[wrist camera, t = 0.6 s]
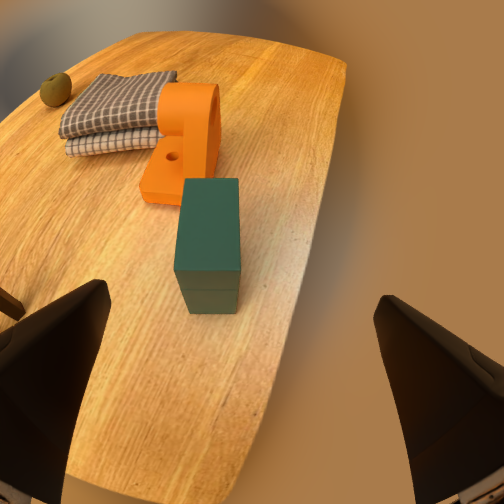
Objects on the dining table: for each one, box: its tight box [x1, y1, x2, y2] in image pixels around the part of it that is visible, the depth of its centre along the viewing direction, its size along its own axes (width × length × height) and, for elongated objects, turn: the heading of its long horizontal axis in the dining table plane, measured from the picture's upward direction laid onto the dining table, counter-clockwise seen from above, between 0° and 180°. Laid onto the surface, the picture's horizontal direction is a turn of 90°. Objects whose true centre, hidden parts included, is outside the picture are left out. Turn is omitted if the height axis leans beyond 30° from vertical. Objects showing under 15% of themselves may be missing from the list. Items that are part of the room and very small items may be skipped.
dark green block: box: [174, 178, 241, 314], centre depth 21 cm, size 8×4×8 cm, turn 3°
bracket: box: [139, 83, 221, 206], centre depth 26 cm, size 11×7×12 cm, turn 176°
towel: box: [58, 71, 178, 158], centre depth 32 cm, size 15×18×8 cm
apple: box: [40, 73, 72, 107], centre depth 38 cm, size 8×8×7 cm
